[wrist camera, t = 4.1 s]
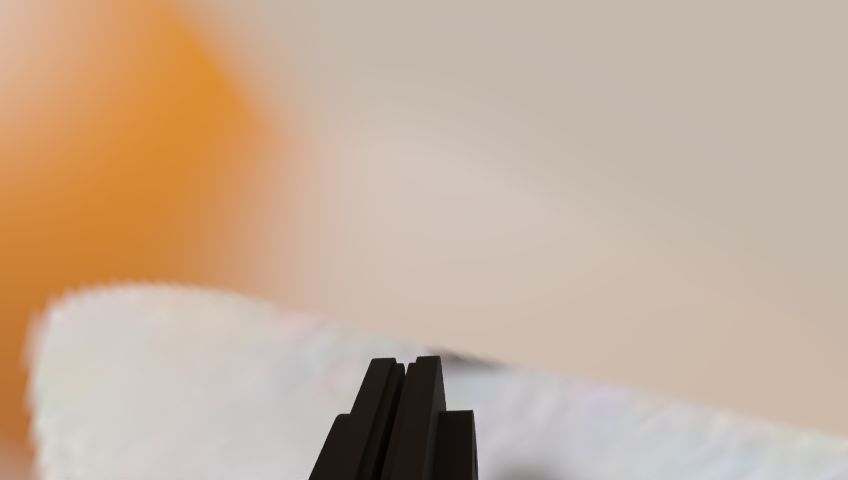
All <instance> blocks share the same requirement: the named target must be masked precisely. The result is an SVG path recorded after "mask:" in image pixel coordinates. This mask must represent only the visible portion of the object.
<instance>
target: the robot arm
mask: <svg viewBox="0 0 848 480" xmlns="http://www.w3.org/2000/svg"><path fill="white" fill-rule="evenodd" d="M308 480H478V460H477V445H476V433H475V422H474V414H473V410H462V411H446V402H445V393H444V384H443V375H442V366H441V359H440V356H420V357H417V360H416V363H409V365H408V369H407V373H406V374H405V367H404V364H403V363H397V362H396V359H395V358H375V359H372V360H371V363H370V365H369V367H368V370H367V372H366V375H365V377H364V380H363V382H362V385H361V387H360V390H359V392H358V395H357V397H356V400H355V402H354V405H353V407H352V410H351V412H350V414H339V415H338V416H337V417H336V419H335V421H334V423H333V425H332V427H331V430H330V432H329V434H328V436H327V439H326V441H325V443H324V446H323V448H322V450H321V452H320V455H319V457H318V459H317V461H316V464H315V466H314V468H313V470H312V473H311V475H310V477H309V479H308Z"/></svg>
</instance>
